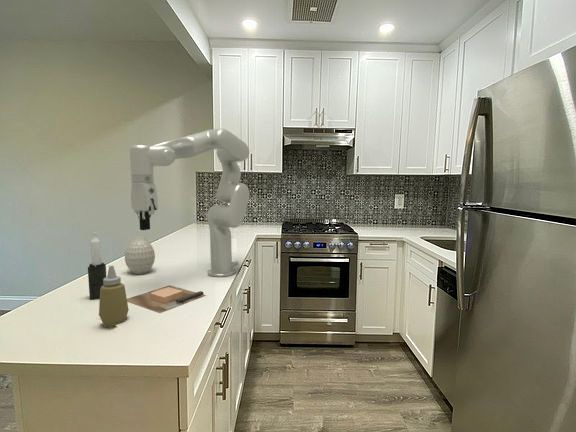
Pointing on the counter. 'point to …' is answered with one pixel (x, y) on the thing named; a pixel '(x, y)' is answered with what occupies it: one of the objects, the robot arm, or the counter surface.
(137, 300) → the board
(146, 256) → the vase
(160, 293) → the tile
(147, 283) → the counter surface
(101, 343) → the counter surface
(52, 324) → the counter surface
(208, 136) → the robot arm
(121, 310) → the squeeze bottle
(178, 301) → the turner
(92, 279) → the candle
